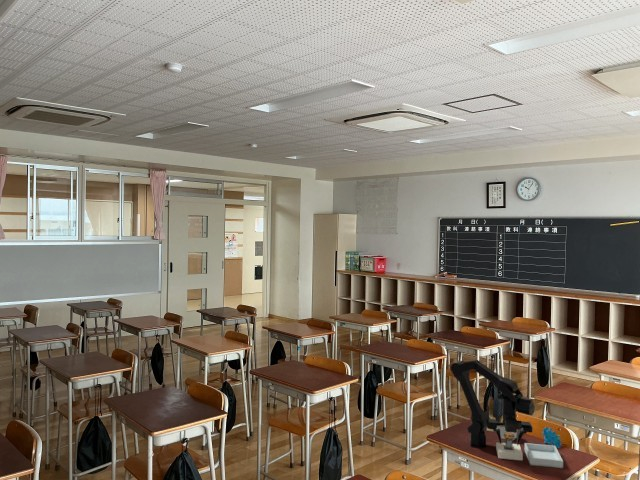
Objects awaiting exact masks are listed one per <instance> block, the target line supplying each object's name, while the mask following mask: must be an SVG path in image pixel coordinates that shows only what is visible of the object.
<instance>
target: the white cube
mask: <svg viewBox="0 0 640 480" xmlns="http://www.w3.org/2000/svg"><path fill="white" fill-rule="evenodd" d="M499 428H500V435H501V440H502V439H503V440H506V438H505V437H504V433H512V434H514V438H513V441H514V440H515V439H517V433H518V431H517V432H516V433H514V432H506V431H505V427H499Z"/></svg>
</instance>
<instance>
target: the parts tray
mask: <svg viewBox="0 0 640 480" xmlns="http://www.w3.org/2000/svg"><path fill="white" fill-rule="evenodd" d="M552 445H553V444H540V443H539V444H537V443H526V442H524V445H523V448H524V449H523V450H524V452H525V455H526V457H527V460H528V463H529V465H530V466H536V467H546V468H557V469H564V460H563V458H562V457H561V454H560V453H559V450H558V448H556V445H555V446H552Z"/></svg>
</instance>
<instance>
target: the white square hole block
mask: <svg viewBox="0 0 640 480" xmlns="http://www.w3.org/2000/svg"><path fill="white" fill-rule="evenodd" d="M505 448H506V442H501V444H500V442H499V441H498V442H497V441H496V443H495V450H496V454H497V457H498V459H503V460H511V461H512V460H514V461H523V456H524V453H523V451H522V448H521V445H520V444H519V445H518V446H517V443H513V450H505Z"/></svg>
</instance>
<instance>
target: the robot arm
mask: <svg viewBox="0 0 640 480" xmlns="http://www.w3.org/2000/svg"><path fill="white" fill-rule="evenodd" d="M471 370H473V371H475V372H476V373H478V374H479V375H480V376H482V377H483V378H485V379H486V380H488V381H489V382H490V383H492V384H493V385H495V387H496V389H497V390H498V392H500V395H498V396H497V398H498V399H500V400H502V411H501V412H502V414H501V415H502V420H501V421H497V419H491V418H490V417H489V411H487V410H486V411H485V410H483V408H482V407H481V404H480V401H479V399H478V397H477V395H476V392H475V389H474V386H473V385H472V382H471V379H470V371H471ZM450 371H451V373H452V375H453V377H454V378H455V379H456V380H457V381H458V382H459V384H460V386H461V389H462V391H463V392H462V393H463V394H464V398H465V400H466V402H467V405H468V407H469V409H470V412H471V415H470V420H471V425H469V426H468V427H467V432H468V433H469V434H470V435H469V436H470V439H469V444H470V447H473V448H474V447H475V448H484V449H485V448H486V446H487V435H486V433H485V431H486V430H487V428H488V429H493V431H496V432H495V433H496V434H497V437H498V438H497V439H498V440H499V441H498V443H500V444H501V443H502V438H501V435H500V429H499V428H500V427H505V431H506V432H514V433H516V432H517V438H516V444H517V446H518V445H520V442H521V440H522V437H523V435H525V434H527V433H533V425H532V423H531V422H530V421H524V420H518V419H517V413H519V414H524V415H527V416H533V415H534V413H535V407H536V406H535V404H534V401H533V399H532V398H526V397H524V395H523V393H522V391H521V390H520V388H519V386H518V383H517V382H516V381H514V380H513V379H510V378H509V377H504V376H501V375H500V374H499V373H497V372H495V371H494V370H492V369H491V368H490V367H488V366H486V365H485V364H483V363H482V362H481V361H480V360H478V359H474V360H468V361H464V360H459V361H456V362H453V363H452V364H451V366H450ZM514 394H515V395H514Z"/></svg>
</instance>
